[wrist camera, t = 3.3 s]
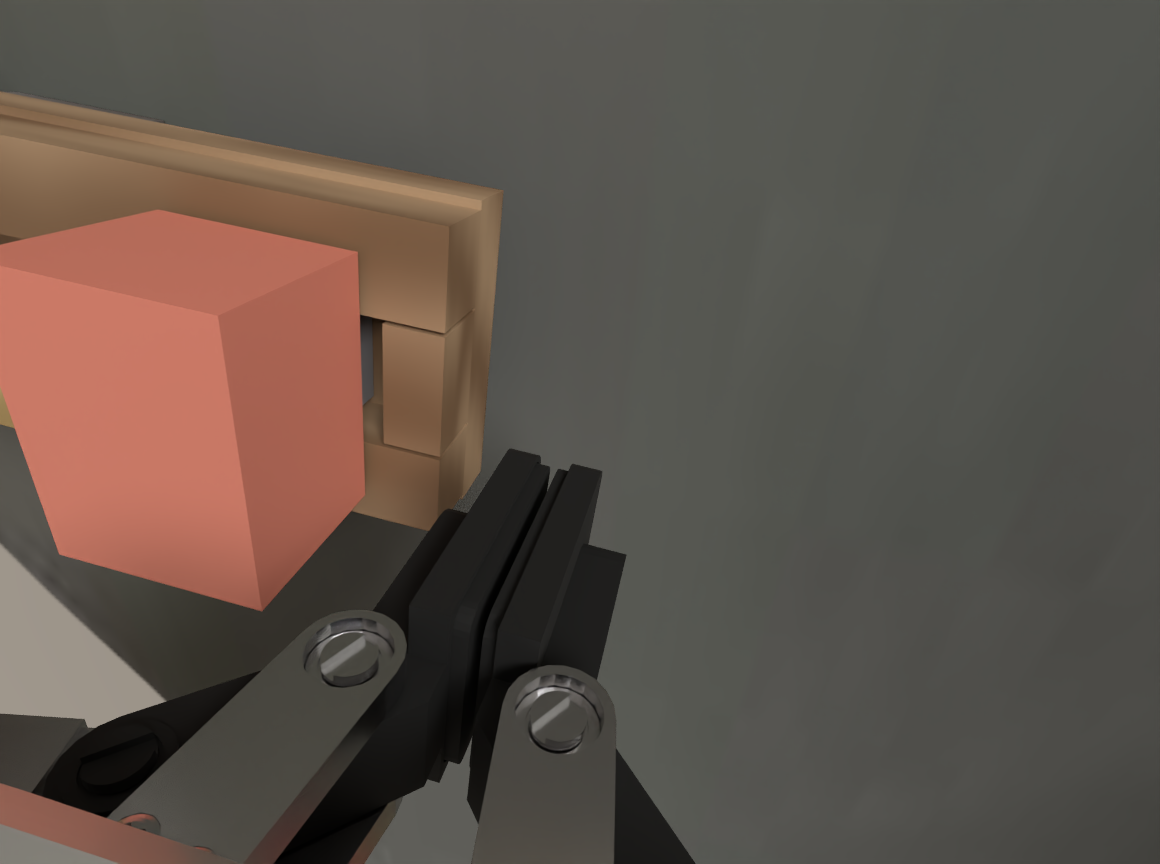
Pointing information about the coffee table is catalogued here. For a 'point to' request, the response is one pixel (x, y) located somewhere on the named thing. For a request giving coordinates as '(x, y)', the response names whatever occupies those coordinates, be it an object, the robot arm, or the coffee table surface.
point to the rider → (187, 396)
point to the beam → (311, 213)
